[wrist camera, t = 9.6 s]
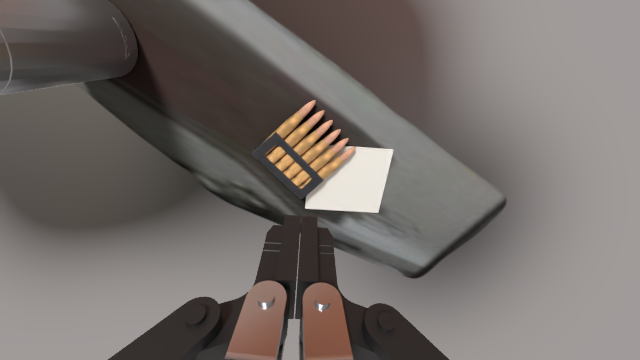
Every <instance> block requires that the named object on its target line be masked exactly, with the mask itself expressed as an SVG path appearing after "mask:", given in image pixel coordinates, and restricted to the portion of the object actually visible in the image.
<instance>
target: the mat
mask: <svg viewBox="0 0 640 360" xmlns="http://www.w3.org/2000/svg"><path fill="white" fill-rule="evenodd" d="M314 145H315V144H314ZM314 145H313V146H314ZM313 146H311V147H313ZM332 146H334V145H328V146H327V147H326V148H325V149H324V151H323V152H325V151H327V150H328V149H330V148H331V147H332ZM311 147H310V148H311ZM310 148H309V149H310ZM350 148H352V147H351V146H344V147H343V148H342V149H341V150H340V151H339V152H338V153H336V155H335V156H333V157H332V158H331V160H333V159H335V158H336V157H337V156H339V155H340V154H342V153H343V152H344V151H346V150H348V149H350ZM309 149H308V150H309ZM323 152H322V153H323ZM322 153H321V154H322ZM321 154H320V155H321ZM392 154H393V149H380V148H366V147H356V149H355V151H354V152H353V154H352V155H351V156H350V157H349V158H348V159H347V160H345V161H344V162H343V163H342V164H341V165H340V166H339V167H338V168H337V169H336V170H335V171H334V172H333V173H331V174H330V175H329V176H328V177H326V178H325V179H324V181H323V182H322V183H320V184H319V185H318V186H317V187H316V188H315V189H314V190H312V191H311V192H310V193H309V194H308V195H307V196H306V205H305V209H321V210H338V211H355V212H372V213H378V211H379V207H380V203H381V199H382V195H383V191H384V187H385V183H386V179H387V174H388V170H389V166H390V162H391V158H392ZM316 158H317V157H316ZM316 158H315V159H316ZM315 159H314V160H315ZM331 160H330V161H331ZM325 165H326V164H325ZM319 170H320V169H319Z"/></svg>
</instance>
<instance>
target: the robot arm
mask: <svg viewBox="0 0 640 360" xmlns="http://www.w3.org/2000/svg"><path fill="white" fill-rule="evenodd" d="M137 58H138V47H137V41H136V38H135V35H134V32H133V30H132V28H131V26H130V24H129V22H128V21H127V19H126V18H125V17H124V15H123V14H122V13H121V12H120V11H119V10H118V9H117V7H116V6H115V5H114V4H112V3H111V2H110V1H108V0H0V95H3V94H9V93H16V92H22V91H29V90H36V89H43V88H49V87H56V86H62V85H69V84H76V83H82V82H89V81H96V80H103V79H109V78H115V77H121V76H124V75H126V74H128V73H129V72H130V71H131V70H132V69H133V68H134V66H135V64H136V61H137ZM300 219H301V216H296V215H286V216H285V221H284V226H279V225H273V226H272V228H271V229H270V230H269V231H268V232H267V236H266V240H265V244H264V248H263V252H262V256H261V260H260V264H259V268H258V272H257V277H256V280H255V283H254V285H253V287H252V288H251V289H250V290H249V292H247V293H246V294H245V295H244V296H242V297H240V298H238V299H235V300H232V301H228V302H224V303H221V304H218V303H217V301H215V300H214V299H212V298H210V297H199V298H195V299H192V300H190V301H188V302H187V303H185V304H184V305H183V306H181V307H180V308H179V309H177V310H176V311H174V312H173V313H171V314H170V315H169V316H167V317H166V318H165V319H163V320H162V321H160V322H159V323H158V324H156V325H155V326H154V327H152V328H151V329H150V330H148V331H147V332H145V333H144V334H143V335H141V336H140V337H138V338H137V339H136V340H134V341H133V342H132V343H131V344H129V345H128V346H126V347H125V348H123V349H122V350H121V351H119V352H118V353H116V354H115V355H114V356H112V357H111V358H110V359H108V360H282V356H283V350H284V344H285V339H286V335H287V328H288V319H293V318H294V304H295V290H296V277H297V262H298V249H299V234H300ZM295 318H296V319H300V335H299V360H449V359H448V358H447V357H446V356H445V355H444V354H443V353H442V352H441V351H439V350H438V349H437V348H436V347H435V346H434V345H433V344H432V343H431V342H430V341H429V340H427V338H426V337H425V336H424V335H422V334H421V333H420V332H419V331H418V330H417V329H416V328H415V327H414V326H413V325H412V324H411V323H410V322H409V321H408V320H407V319H405V318H404V317H403V316H402V315H401V314H400V313H399V312H398V311H397V310H395V309H394V308H393V307H391V306H389V305H386V304H382V303H381V304H380V303H378V304H374V305H372V306H370V307H369V308H365V307H362V306H360V305H357V304H354V303H352V302H350V301H348V300H347V299H346V298H345V297H344V296H343V295H342V294H341V292H340V291H339V289H338V285H337V278H336V269H335V257H334V247H333V237H332V235H331V233H330V232H329V230H328V228H317V217H314V216H302V223H301V238H300V253H299V269H298V284H297V298H296V314H295Z"/></svg>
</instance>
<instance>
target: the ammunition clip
mask: <svg viewBox="0 0 640 360" xmlns="http://www.w3.org/2000/svg"><path fill="white" fill-rule="evenodd" d="M315 102H316V101H315V100H314V101H311V102H309V103H307V104H306V105H305V106H303V107H302V108H301V109H300V110H299V111H298V112H296V113H295V114H294V115H293V116H291V117H289V118H288V119H287V120H286V121H285V122H284V123H283V124H282V125H281V126H280V127H279V128H278V129H277V130H276V131H274V132H273V133H272V134H271V135H270V136H269V137H268V138H267V139H266V140H265V141H264V142H262V143H261V144H260V145H259V146H258V147H257V148H255V149H254V151H253V152H252V155H254V156H255V157H256V158H257V159H258V160H259V161H260V162H261V163H262V164H263V165H264V166H265V167H266V168H267V169H269V170H270V171H271V172H272V173H273V174H274V175H275V176H276V177H277V178H278V179H279V180H280V181H281V182H283V183H284V184H285V185H286V186H287V187H288V188H289V189H290V190H291V191H292V192H293V193H294V194H295V195H297V196H298V197H299V198H300V199H303V198H304V197H306V196H307V195H308V194H309V193H310V192H311V191H312V190H314V189H315V188H316V187H317V186H318V185H319V184H320V183H322V182H323V181H324V179H325V178H326V177H328V176H329V175H330V174H331V173H333V172H334V171H335V170H336V169H337V168H338V167H339V166H340V165H341V164H342V163H343V162H344V161H345V160H347V159H348V158H349V157H350V156H351V155H352V154H353V152H354V151H355V149H356V147H352V148H350V149H348V150H346V151H344V152H343V153H342V154H340V155H339V156H337V157H336V158H335V159H333V160H331V158H332V157H333V156H335V155H336V153H338V152H339V151H340V150H341V149H342V148H343V147H344V146H345V144H346V143H347V142H348V140H349V139H348V138H346V139H343V140H341V141H339V142H338V143H336V144H335V145H334V146H332V147H331V148H330V149H328V150H327V151H325V152H323V151H324V149H325V148H326V147H327V146H328V145H329V144H331V143H332V142H333V141H334V140H335V139H336V137H337V136H338V135H339V133H340V131H341V129H338V130H336V131H334V132H332V133H330V134H329V135H328V136H326V137H325V138H324V139H322V140H321V141H320V142H318V143H317V144H315V145H314V143H315V142H316V141H317V140H318V139H319V138H320V137H321V136H322V135H323V134H324V133H325V132H326V131H327V130H328V129H329V127H330V126H331V124H332V122H333V120H330V121H328V122H326V123H324V124H322V125H321V126H320V127H318V128H317V129H316V130H315V131H313V132H312V133H311V134H309V135H308V136H306V137H305V138H304V139H303V140H302V141H300V140H301V139H302V138H303V137H304V136H305V135H306V134H307V133H308V131H309V130H310V129H311V128H312V127H313V126H314V125H315V124H316V123H317V122H318V121H319V120H320V119H321V117H322V116H323V114H324V110H322V111H320V112H318V113H316V114H315V115H313V116H312V117H311V118H309V119H308V120H307V121H306V122H305V123H303V124H302V125H301V126H299V127H297V125H298V124H299V123H300V121H301V120H302V119H303V118H304V117H305V116H306V115H307V114H308V113H309V112H310V111H311V109H312V108H313V106H314V105H315ZM296 127H297V128H296ZM295 128H296V129H295ZM294 129H295V130H294ZM293 130H294V131H293ZM291 131H293V132H292V133H291V134H290V135H289V136H288V137H286V136H287V135H288V134H289V133H290V132H291ZM299 141H300V142H299ZM298 142H299V143H298ZM297 143H298V144H297ZM296 144H297V145H296ZM277 145H278V146H277ZM295 145H296V146H295ZM313 145H314V146H313ZM276 146H277V147H276ZM311 146H313V147H311ZM275 147H276V148H275ZM310 147H311V148H310ZM274 148H275V149H274ZM309 148H310V149H309ZM272 149H274V150H272ZM308 149H309V150H308ZM271 150H272V151H271ZM307 150H308V151H307ZM270 151H271V152H270ZM306 151H307V152H306ZM269 152H270V153H269ZM305 152H306V153H305ZM322 152H323V153H322ZM286 153H287V154H286ZM321 153H322V154H321ZM285 154H286V155H285ZM320 154H321V155H320ZM284 155H285V156H284ZM283 156H284V157H283ZM281 157H282V158H281ZM316 157H317V158H316ZM280 158H281V159H280ZM315 158H316V159H315ZM279 159H280V160H279ZM314 159H315V160H314ZM278 160H279V161H278ZM330 160H331V161H330ZM293 162H294V163H293ZM292 163H293V164H292ZM291 164H292V165H291ZM325 164H326V165H325ZM302 169H303V170H302ZM319 169H320V170H319ZM296 174H297V175H296Z"/></svg>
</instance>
